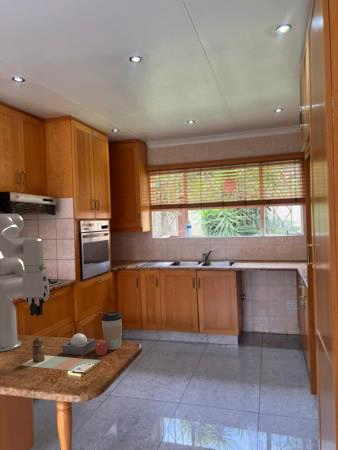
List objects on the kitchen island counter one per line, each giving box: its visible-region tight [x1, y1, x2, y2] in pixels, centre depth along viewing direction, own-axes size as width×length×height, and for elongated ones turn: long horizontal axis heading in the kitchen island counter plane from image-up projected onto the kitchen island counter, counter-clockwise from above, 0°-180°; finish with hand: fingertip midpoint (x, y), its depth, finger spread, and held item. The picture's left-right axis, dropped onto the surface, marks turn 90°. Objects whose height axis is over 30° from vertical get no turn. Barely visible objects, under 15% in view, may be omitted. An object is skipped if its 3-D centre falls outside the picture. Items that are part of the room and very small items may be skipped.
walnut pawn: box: [31, 337, 45, 363], centre depth 141 cm, size 4×4×9 cm
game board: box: [20, 354, 103, 374], centre depth 138 cm, size 30×11×1 cm, turn 70°
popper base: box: [61, 338, 97, 356], centre depth 151 cm, size 10×10×4 cm
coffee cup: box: [100, 311, 123, 351], centre depth 155 cm, size 9×9×15 cm
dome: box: [70, 332, 88, 346], centre depth 151 cm, size 7×7×7 cm
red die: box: [95, 341, 108, 356], centre depth 147 cm, size 4×4×4 cm
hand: (36, 314), depth 141 cm, fingers closed
